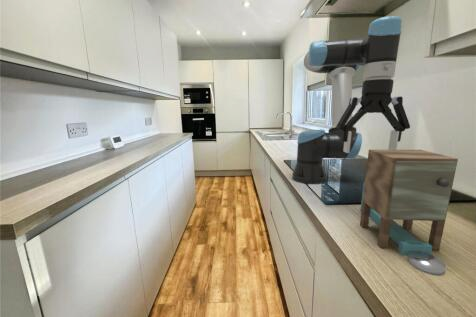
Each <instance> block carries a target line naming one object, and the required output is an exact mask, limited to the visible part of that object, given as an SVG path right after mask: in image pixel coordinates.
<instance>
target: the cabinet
mask: <svg viewBox="0 0 476 317" xmlns="http://www.w3.org/2000/svg"><path fill="white" fill-rule="evenodd" d="M458 159H459V158H456V157H452V156H448V155H444V154H439V153H436V152H430V151H428V150H427V151H426V150H423V149H396V150H388V149H368V154H367V162H366V170H365V171H366V172H365V179H364V182H365V186H364V195H363V203H362V212H361V211H360V212H361V213H360V222H359V225H360V227H361V228H362V229H363V228H365V229H368V228H369V221H370V217H369V216H370V208H372V209H373V210H374V211H376V212H377V213H378V214H379V215H380V216H381V222H380V227H379V230H378V236H377V246H378V247H379V248H380V249H388V246H389V239H390V236H389V234H390V227H391V220H394V221H396V220H398V221H402V228H404V229H405V230H412V229H413V224H414V221H427V222H431V226H430V227H431V228H430V232H429V235H428V242H427V243H429V244H430V245H431V246H432V251H437V252H438V251H440V248H441V243H442V238H443V234H444V229H445V224H446V218H447V213H448V210H449V205H450V199H451V194H452V189H453V185H454V180H455V176H456V171H457V165H458V161H459V160H458Z"/></svg>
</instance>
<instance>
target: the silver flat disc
mask: <svg viewBox="0 0 476 317" xmlns="http://www.w3.org/2000/svg"><path fill="white" fill-rule="evenodd" d="M407 256H408V258H407V261H408V263H409V264H410V265H411V266H412V267H414V268H415V269H417V270H418V271H421V272H423V273H425V274H429V275H433V276H441V275H443V274H445V270H446V265H447V264H446V263H445V262H444V261H443V260H442V259H440V258H439V257H437V256H435V255H434V254H432V253H431V254H429V253H426V252H421V251H411V252H410V253H409V255H407Z"/></svg>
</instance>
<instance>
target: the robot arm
mask: <svg viewBox="0 0 476 317" xmlns="http://www.w3.org/2000/svg"><path fill="white" fill-rule="evenodd" d="M401 34H402V18H401V17H400V16H397V15H390V16H389V15H388V16H383V17H379V18H377V19H375V20H373V21H372V22H371V23H370V24H369V27H368V31H367V37H362V38H360V37H359V38H349V39H335V40H334V39H333V40H332V39H331V40H318V41H312V42H310V44H309V48H308V51H307V53H306V54H305V55H304V58H303V65H304V67H305V69H307V71H310V72H312V73H317V74H328V78H329V79H330V80H331V127H330V128H328V132H326V130H325V129H311V130H305V131H301V132H299V133H298V136H297V150H296V152H297V153H296V154H297V155H296V164H295V166H294V169H293V171H292V176H291V177H292V180H293V181H296V182H298V183H302V184H308V185H309V184H313V185H316V184H315V183H317V184H322V183H321V182H323V183H325V182H326V177H327V175H326V173H325V168H324V165H323V164H324V163H323V162H324V159H336V160H337V159H341V160H342V159H343V160H347V159H348V160H350V159H355V158H357V157H358V155H359V154H360V151H361V149H362V144H363V137H362V134H361V132H357V127H355V125H356V124H357V123H358V122H359V121H360V120H361V118H363V117H364V116H365V115H366V114H367V113H368V114H371V113H372V114H373V113H377V114H382V115H383V116H384V117H385V119H386V120H387V121H388V123H389V124H390V125H391V127H392V128H393V130H392V129H391V130H390V136H389V141H388V142H389V143H388V149H387V150H398V149H397V148H398V143H399V142H401V139H402V138H401V137H402V134H403V132H404V131H405V130H408V129H410V128H411V125H410V122H409V118H408V115H407V112H406V110H405V107H404V105H403V100H404V99H403V98H404V97H403V96H393V97H392V94H393V89H394V80H393V79H392V78H394V77H395V73H396V65H397V59H398V52H399V46H400V39H401ZM361 66H362V67H363V66H364V70H363V80H364V81H363V82H362V88H361V96H360V97H355V96H353V80H352V79H353V78H352V77H353V76H355V74H356V72H357V71H358V70H359V67H361ZM359 104H360V105H361V106H360V107H359V109H358V110H357V111H356V112H355V113H354V114H353V112H354V111H355V109H356V107H357V106H358V105H359ZM390 104H391V105H392V107H393V110H394V113H395V114H394V113H393V111H392V108H390V106H389V105H390ZM324 181H325V182H324Z"/></svg>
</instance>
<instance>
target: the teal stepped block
mask: <svg viewBox="0 0 476 317" xmlns="http://www.w3.org/2000/svg"><path fill="white" fill-rule="evenodd" d="M362 185H363V186H362V194H361V202H360V209H359V210H360V212H362V203H363V195H364V186H365V181H363V184H362ZM369 219H371V220H372V222H374V223H375V224H376V225H377V226H378V227H379V228H380V222H381V216H380V215H379V214H378V213H377V212H376V211H374V210H373V209H372V208H370V216H369ZM389 238H391V239H392V240H393V241H394V242H395V244H397V245H398V252H399V254H401V255H402V256H409V253H410V252H411V251H421V252H426V253H429V254H431V255H432V252H433V250H432V246H431V245H430V244H429V243H428V242H425V241H424V242H423V241H420V240H418V239H417V238H416V237H415V236H413V234H411V233H410V232H409V231H407V229H405V228H404V227H403V226H402V225H400V224H399V223H398V222H396V220H391V227H390V234H389Z"/></svg>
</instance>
